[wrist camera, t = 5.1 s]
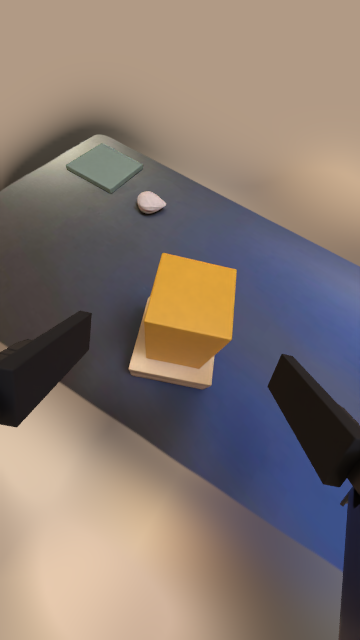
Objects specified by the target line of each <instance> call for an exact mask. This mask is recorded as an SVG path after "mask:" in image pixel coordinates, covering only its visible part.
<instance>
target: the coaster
mask: <svg viewBox="0 0 360 640" xmlns="http://www.w3.org/2000/svg"><path fill="white" fill-rule="evenodd" d="M66 167H67V170H69V171H71V172H73V173H74V174H76V175H78V176H80V177H82V178H84V179H85V180H87V181H89V182H91V183H93V184H94V185H96V186H98V187H100V188H102V189H103V190H105V191H107V192H109V193H113V192H114V191H115V190H116V189H118V188H119V187H120V186H121V185H123V184H124V183H125V182H127V181H128V180H129V179H130V178H132V177H133V176H134V175H135V174H137V173H138V172H139V171H140V170H142V169H143V164H141V163H139V162H137V161H135V160H133V159H132V158H130V157H128V156H126V155H124V154H122V153H120V152H118V151H116V150H114V149H112V148H111V147H109V146H107V145H105V144H103V143H101V144H99V145H98V146H96V147H95V148H93V149H91V150H90V151H88V152H86V153H85V154H83V155H82V156H80V157H78V158H77V159H75V160H73V161H72V162H70V163H69V164H67V165H66Z"/></svg>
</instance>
